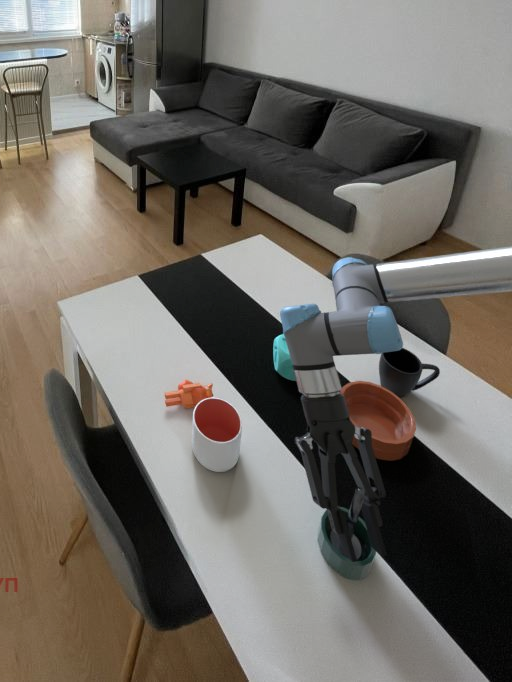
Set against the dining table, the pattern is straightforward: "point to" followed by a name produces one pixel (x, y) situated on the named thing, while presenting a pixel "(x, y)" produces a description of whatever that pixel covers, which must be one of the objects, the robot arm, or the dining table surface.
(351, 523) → the ladle
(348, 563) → the faceted green pot
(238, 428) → the cup
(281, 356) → the decorative dice
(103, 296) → the dining table surface
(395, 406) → the bowl
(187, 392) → the orange toy figurine
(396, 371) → the mug
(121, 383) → the dining table surface
